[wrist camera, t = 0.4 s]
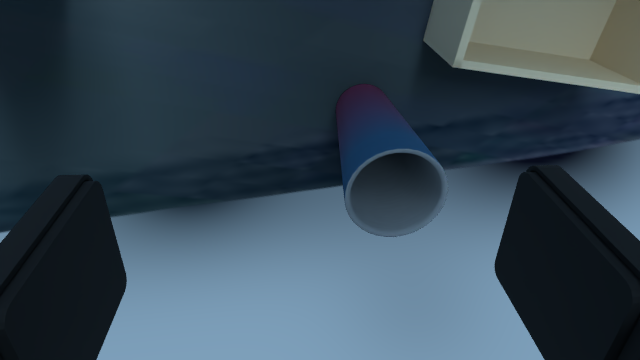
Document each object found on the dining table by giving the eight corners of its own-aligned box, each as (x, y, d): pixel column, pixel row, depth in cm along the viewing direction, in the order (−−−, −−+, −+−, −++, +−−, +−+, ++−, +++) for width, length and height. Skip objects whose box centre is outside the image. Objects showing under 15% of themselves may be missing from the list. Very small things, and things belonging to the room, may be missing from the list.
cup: (372, 153, 45) (409, 250, 32) (312, 123, 43) (325, 214, 30) (412, 95, 42) (469, 175, 29) (350, 60, 40) (381, 130, 27)
